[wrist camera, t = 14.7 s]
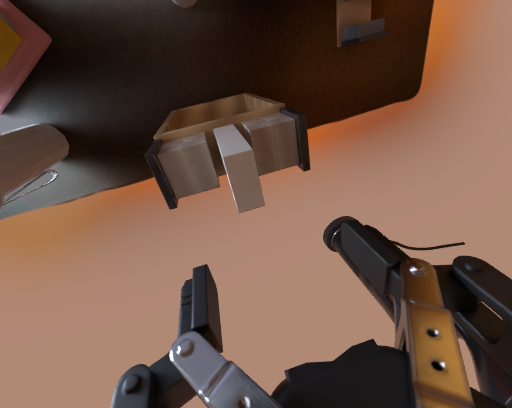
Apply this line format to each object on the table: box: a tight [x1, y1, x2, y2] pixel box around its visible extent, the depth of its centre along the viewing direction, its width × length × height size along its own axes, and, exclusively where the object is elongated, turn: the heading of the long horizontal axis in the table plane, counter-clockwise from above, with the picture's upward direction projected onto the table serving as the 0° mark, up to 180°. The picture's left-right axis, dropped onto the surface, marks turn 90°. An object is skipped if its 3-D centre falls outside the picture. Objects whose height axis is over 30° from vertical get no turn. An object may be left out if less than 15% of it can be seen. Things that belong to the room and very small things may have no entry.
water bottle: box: [0, 123, 69, 209], centre depth 33 cm, size 9×8×25 cm
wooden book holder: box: [145, 103, 310, 209], centre depth 26 cm, size 16×7×7 cm, turn 102°
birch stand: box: [155, 92, 281, 135], centre depth 38 cm, size 16×7×22 cm, turn 102°
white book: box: [213, 124, 265, 213], centre depth 23 cm, size 2×5×11 cm, turn 12°
